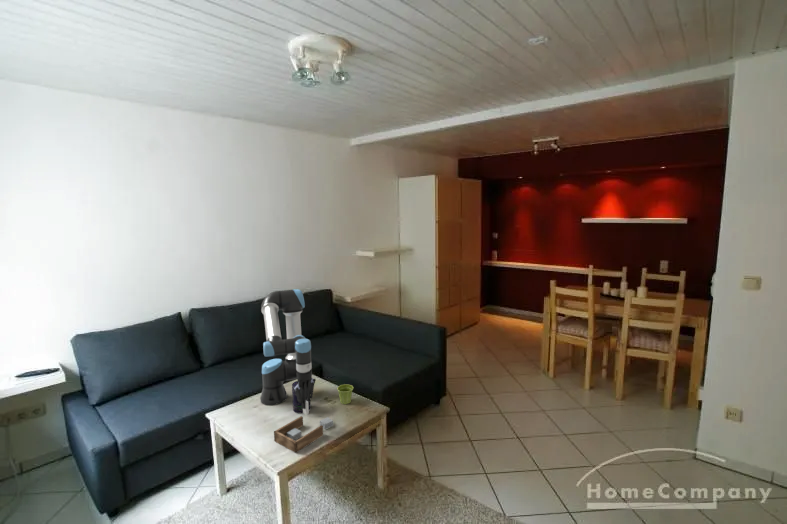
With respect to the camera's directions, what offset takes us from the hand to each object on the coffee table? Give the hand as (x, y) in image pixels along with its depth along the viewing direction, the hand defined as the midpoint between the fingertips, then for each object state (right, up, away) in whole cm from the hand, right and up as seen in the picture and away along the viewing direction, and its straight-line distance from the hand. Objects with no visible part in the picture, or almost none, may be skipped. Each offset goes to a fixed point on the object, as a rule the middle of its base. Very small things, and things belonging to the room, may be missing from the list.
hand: (305, 413), depth 191 cm
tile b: (+10, -8, +3) cm, 13 cm away
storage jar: (-7, -6, +21) cm, 23 cm away
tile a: (-4, -9, -6) cm, 12 cm away
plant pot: (+17, -5, +28) cm, 33 cm away
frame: (-1, -9, -7) cm, 12 cm away
